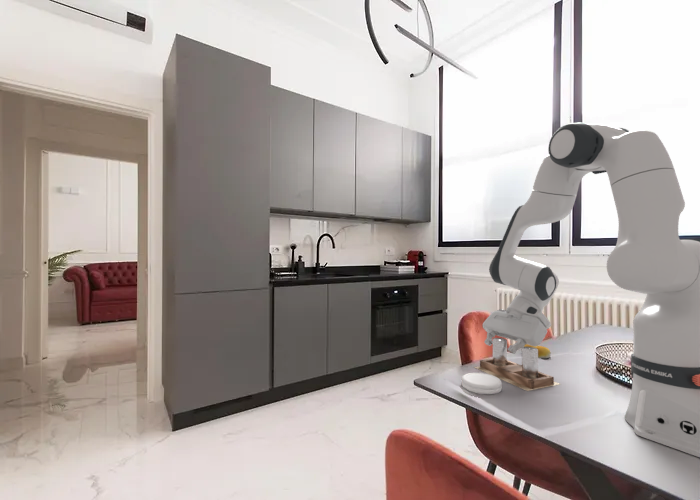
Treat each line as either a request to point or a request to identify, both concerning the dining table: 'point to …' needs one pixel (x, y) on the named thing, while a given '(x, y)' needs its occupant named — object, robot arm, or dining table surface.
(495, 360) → the glass pepper shaker
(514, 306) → the robot arm
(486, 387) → the coaster
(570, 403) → the dining table surface
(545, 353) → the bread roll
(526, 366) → the seated billet
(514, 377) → the wooden compartment tray
